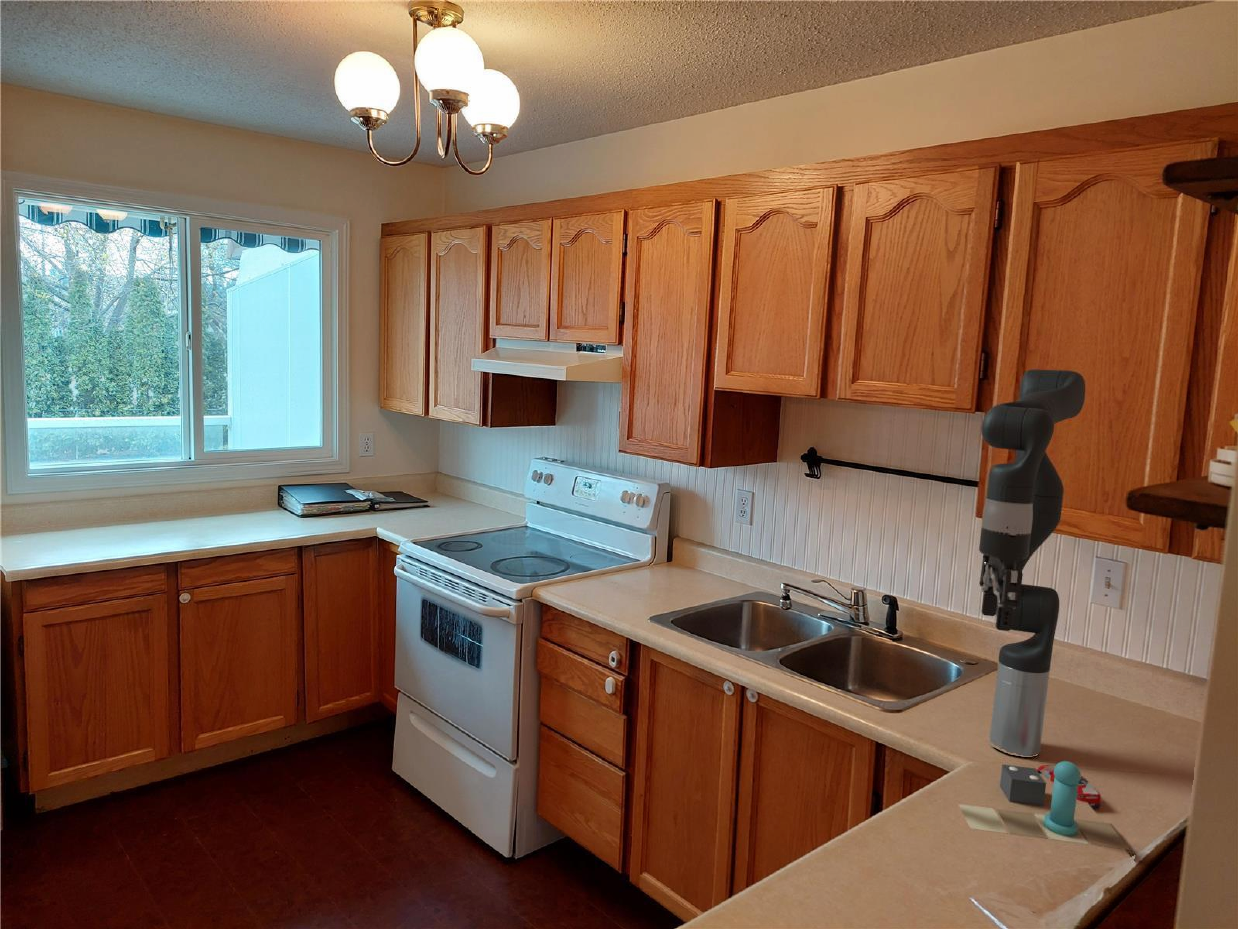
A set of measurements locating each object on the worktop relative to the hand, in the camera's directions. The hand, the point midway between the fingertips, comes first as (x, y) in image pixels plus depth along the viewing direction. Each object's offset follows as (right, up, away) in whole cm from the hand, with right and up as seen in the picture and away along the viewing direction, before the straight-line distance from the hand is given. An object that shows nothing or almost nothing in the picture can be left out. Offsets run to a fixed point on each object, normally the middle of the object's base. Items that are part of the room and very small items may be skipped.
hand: (995, 622), depth 142 cm
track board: (+5, -33, -5) cm, 34 cm away
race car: (+17, -33, +10) cm, 38 cm away
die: (+6, -32, +4) cm, 33 cm away
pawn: (+8, -32, -6) cm, 33 cm away
